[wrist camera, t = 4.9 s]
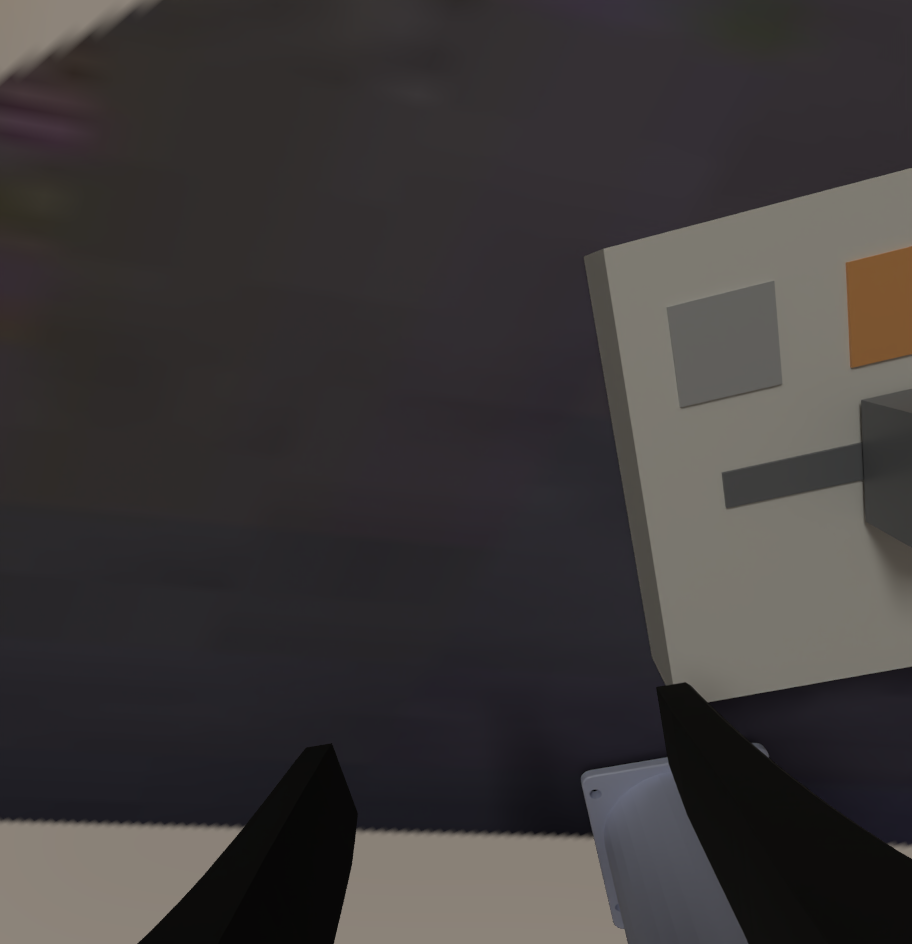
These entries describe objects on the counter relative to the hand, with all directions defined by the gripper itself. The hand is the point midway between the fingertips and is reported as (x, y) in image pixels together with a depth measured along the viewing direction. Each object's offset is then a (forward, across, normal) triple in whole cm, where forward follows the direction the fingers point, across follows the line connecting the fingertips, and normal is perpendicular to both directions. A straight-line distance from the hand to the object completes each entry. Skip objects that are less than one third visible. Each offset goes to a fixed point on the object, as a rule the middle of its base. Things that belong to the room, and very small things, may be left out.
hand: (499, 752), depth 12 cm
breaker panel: (+10, -12, -2) cm, 16 cm away
